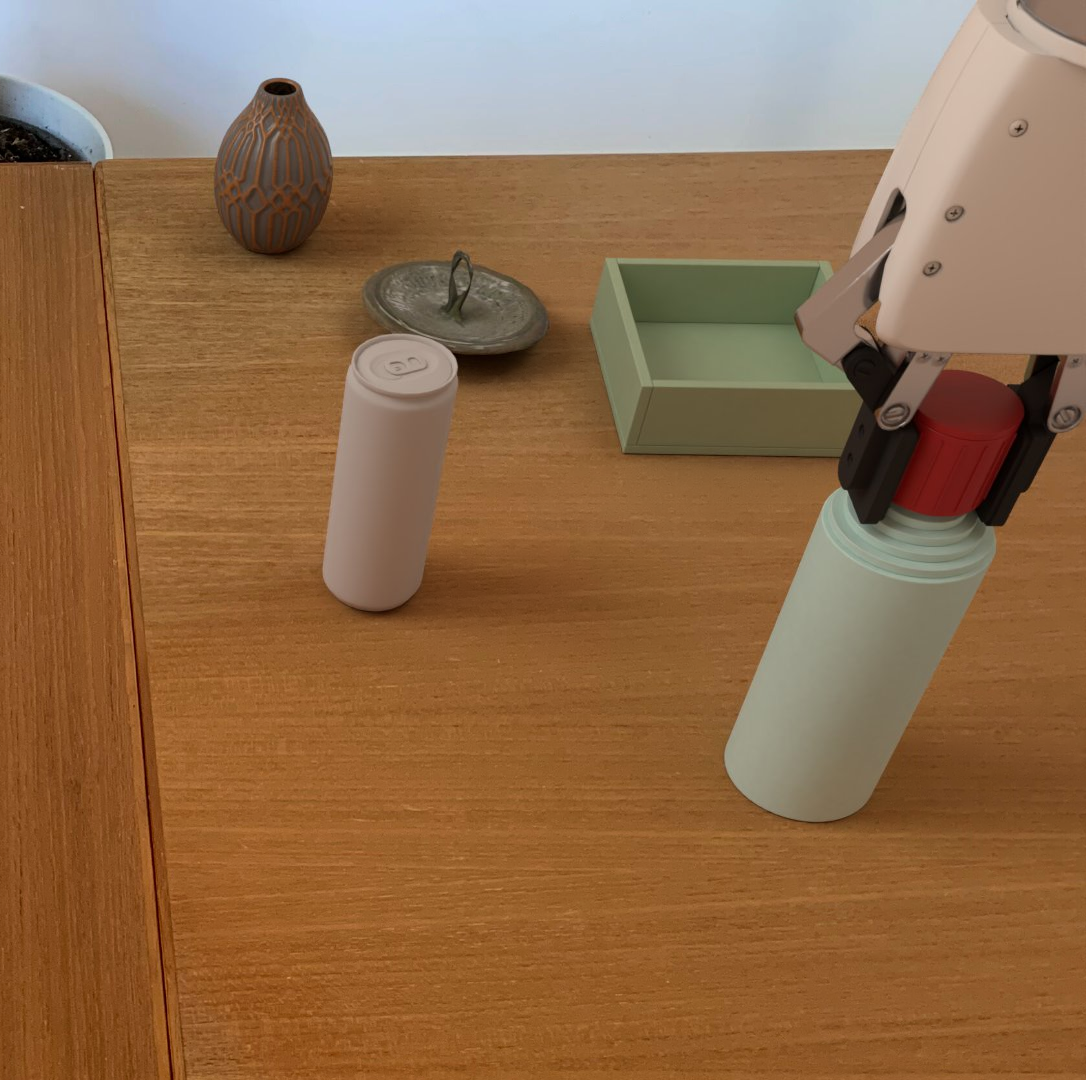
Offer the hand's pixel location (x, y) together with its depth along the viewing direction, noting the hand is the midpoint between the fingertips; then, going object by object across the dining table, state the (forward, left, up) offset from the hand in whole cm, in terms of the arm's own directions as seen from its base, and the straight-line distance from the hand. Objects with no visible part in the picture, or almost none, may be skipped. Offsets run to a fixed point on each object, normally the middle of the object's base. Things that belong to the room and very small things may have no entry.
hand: (922, 498), depth 63 cm
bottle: (0, 0, -14) cm, 14 cm away
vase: (+22, -44, -15) cm, 51 cm away
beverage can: (+18, -12, -15) cm, 26 cm away
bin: (-2, -29, -14) cm, 32 cm away
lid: (+12, -34, -14) cm, 39 cm away
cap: (0, 0, +1) cm, 1 cm away
